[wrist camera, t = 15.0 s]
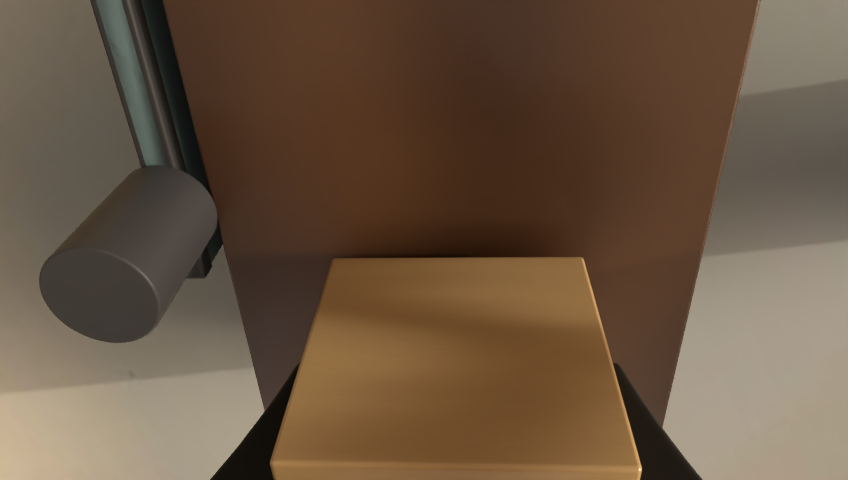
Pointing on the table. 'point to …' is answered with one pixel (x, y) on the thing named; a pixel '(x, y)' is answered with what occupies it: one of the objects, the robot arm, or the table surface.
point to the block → (456, 376)
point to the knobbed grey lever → (139, 195)
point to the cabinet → (465, 148)
